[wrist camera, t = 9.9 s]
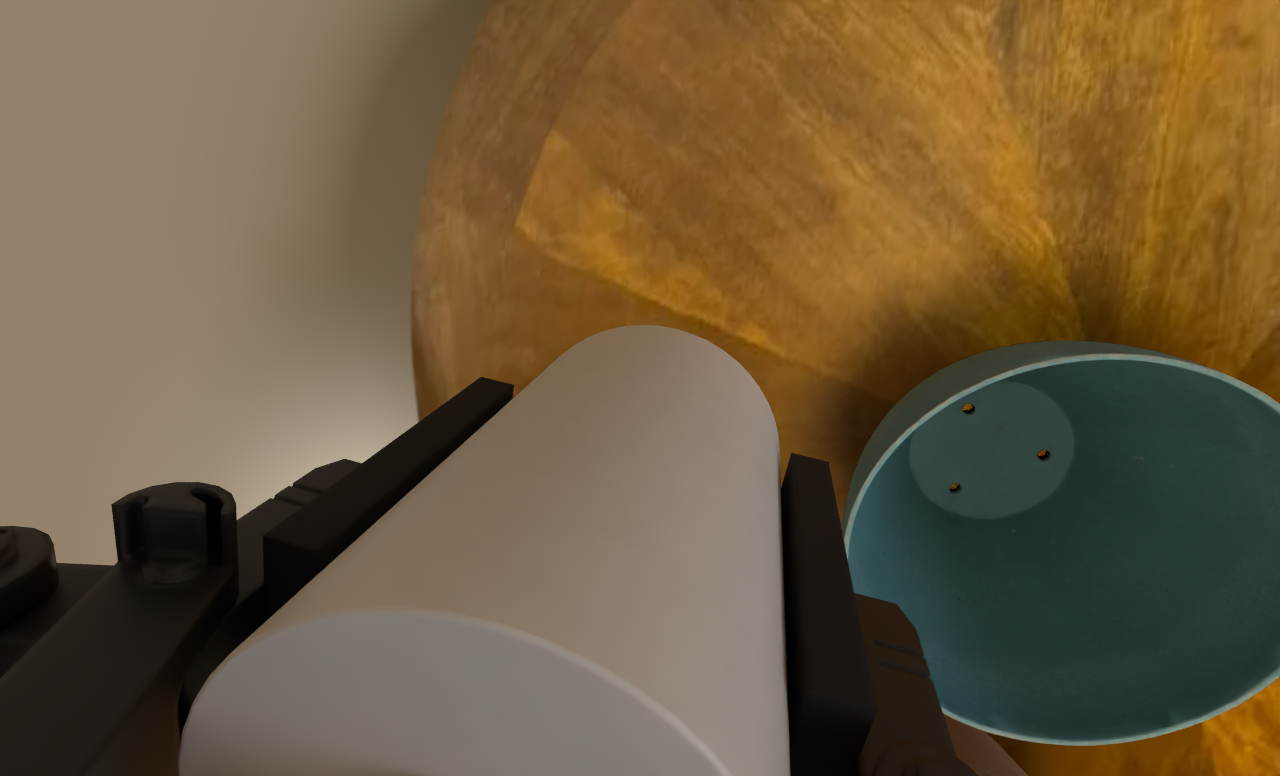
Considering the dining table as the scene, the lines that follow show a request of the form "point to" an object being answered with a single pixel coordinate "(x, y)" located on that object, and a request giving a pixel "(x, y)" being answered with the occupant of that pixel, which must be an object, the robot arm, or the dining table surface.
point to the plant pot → (1078, 539)
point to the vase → (980, 751)
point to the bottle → (543, 596)
